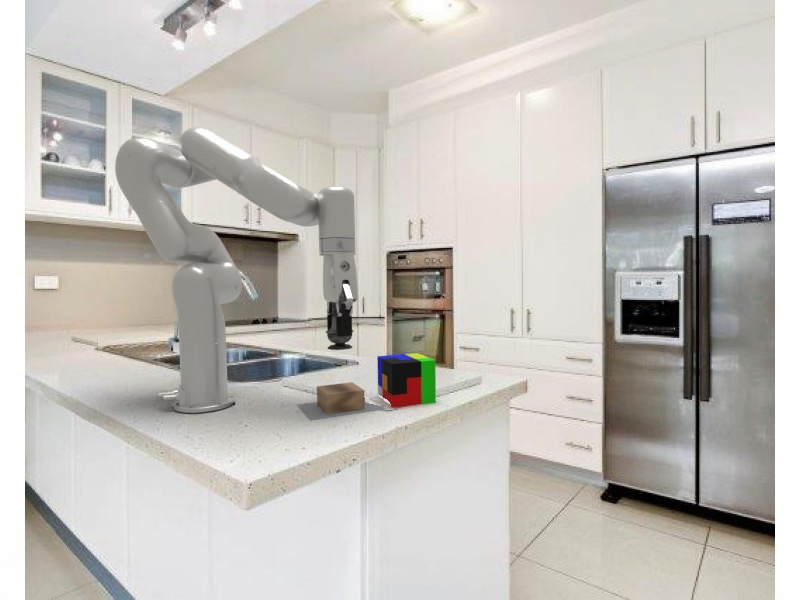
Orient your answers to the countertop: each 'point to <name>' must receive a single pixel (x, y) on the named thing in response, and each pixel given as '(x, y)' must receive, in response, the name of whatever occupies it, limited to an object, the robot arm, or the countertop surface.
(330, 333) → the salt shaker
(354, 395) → the base block
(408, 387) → the puzzle toy
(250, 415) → the countertop surface
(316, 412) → the slate mat
